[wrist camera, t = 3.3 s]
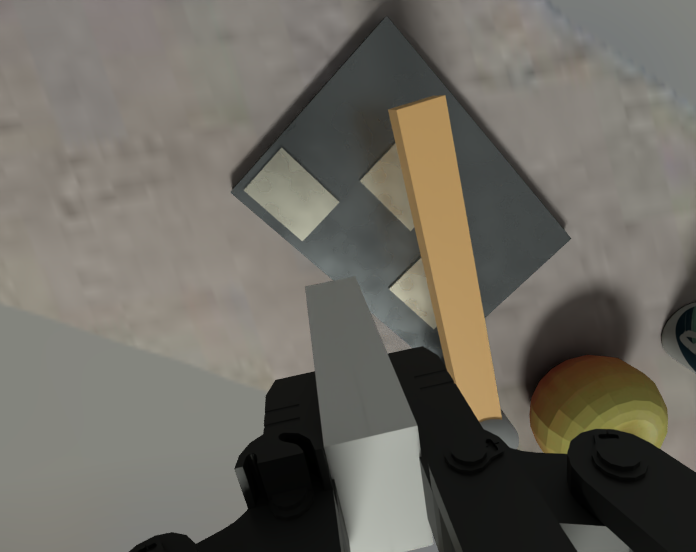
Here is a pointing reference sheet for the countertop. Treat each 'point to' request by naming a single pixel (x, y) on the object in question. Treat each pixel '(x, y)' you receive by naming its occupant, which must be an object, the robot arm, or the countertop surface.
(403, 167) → the cable arm
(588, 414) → the apple
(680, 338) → the lotion bottle
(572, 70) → the countertop surface
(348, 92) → the plate
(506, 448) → the robot arm
